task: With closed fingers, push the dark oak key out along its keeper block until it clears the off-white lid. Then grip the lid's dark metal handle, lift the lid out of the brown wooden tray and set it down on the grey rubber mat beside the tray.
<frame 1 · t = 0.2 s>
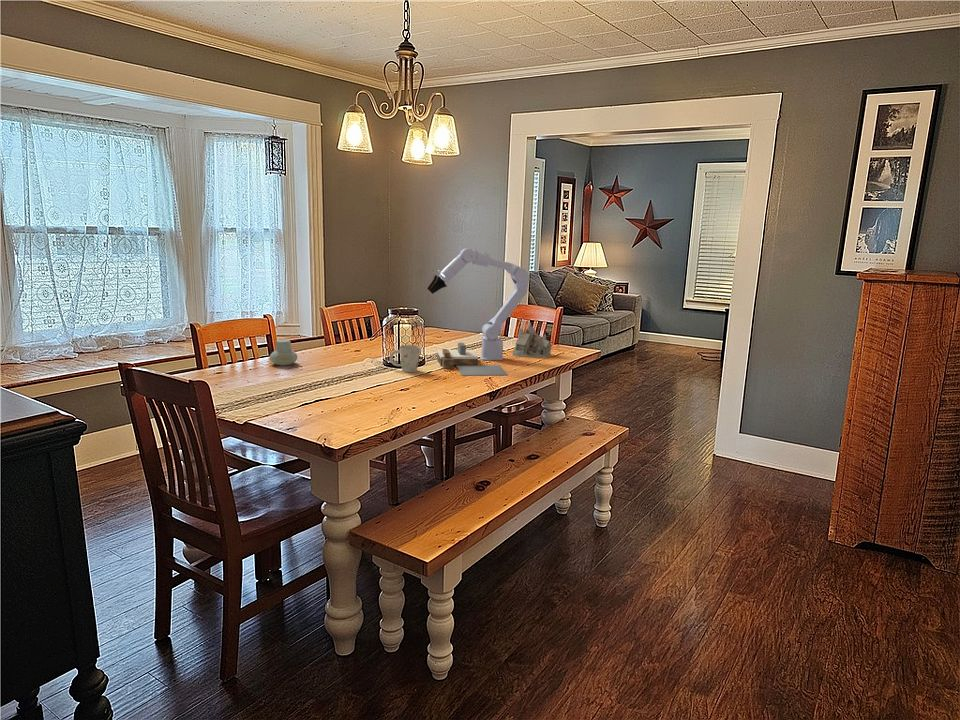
hand: (429, 291, 277), 30 cm above the table, tool tilted 45°, fingers open, 7 cm apart
key: (446, 353, 273), point 5 cm above the table, slide at 0.0 cm
brown wooden tray: (456, 362, 280), on the table
mug: (404, 371, 261), on the table
lid: (457, 355, 279), point 3 cm above the table, touching brown wooden tray
ceramic cottage: (531, 355, 301), on the table
mat: (481, 370, 266), on the table
air freshener: (284, 364, 264), on the table
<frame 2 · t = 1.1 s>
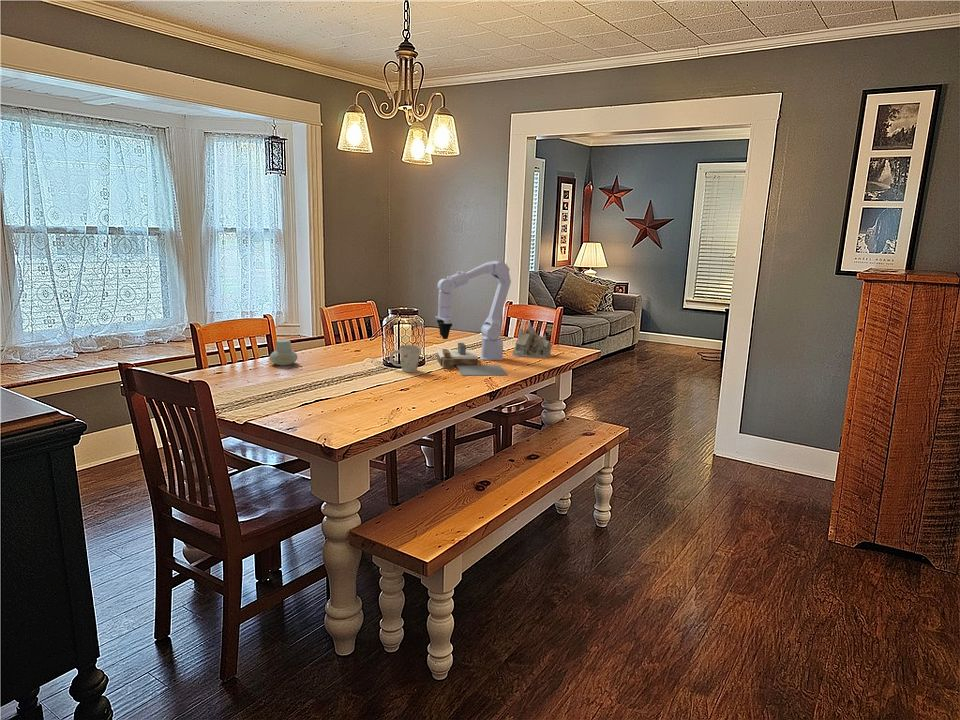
hand: (443, 337, 280), 10 cm above the table, tool pointing down, fingers open, 7 cm apart
nothing on the table moved.
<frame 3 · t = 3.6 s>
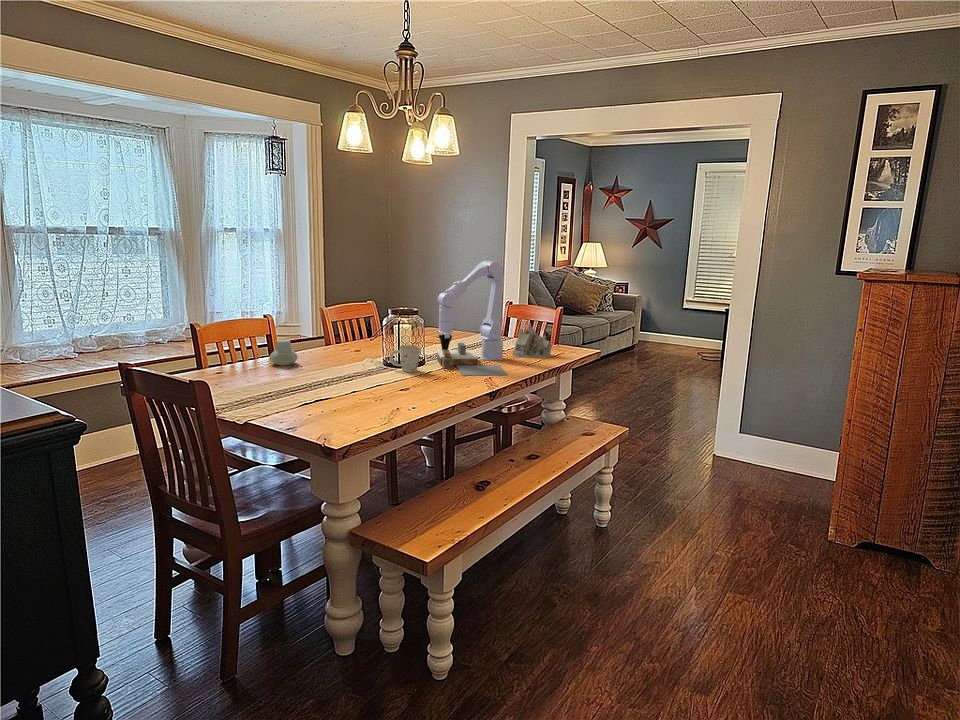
hand: (444, 351, 277), 5 cm above the table, tool pointing down, fingers closed
key: (446, 353, 272), point 5 cm above the table, slide at 0.5 cm, touching gripper
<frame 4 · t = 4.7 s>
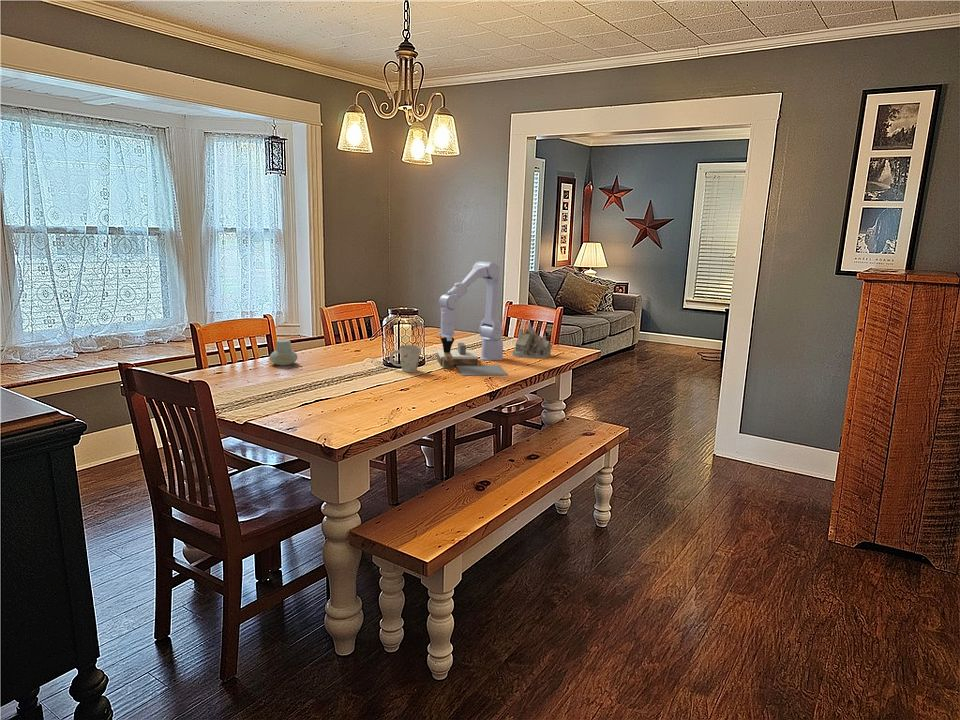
hand: (446, 354, 271), 5 cm above the table, tool pointing down, fingers closed
key: (448, 356, 266), point 5 cm above the table, slide at 6.9 cm, touching gripper
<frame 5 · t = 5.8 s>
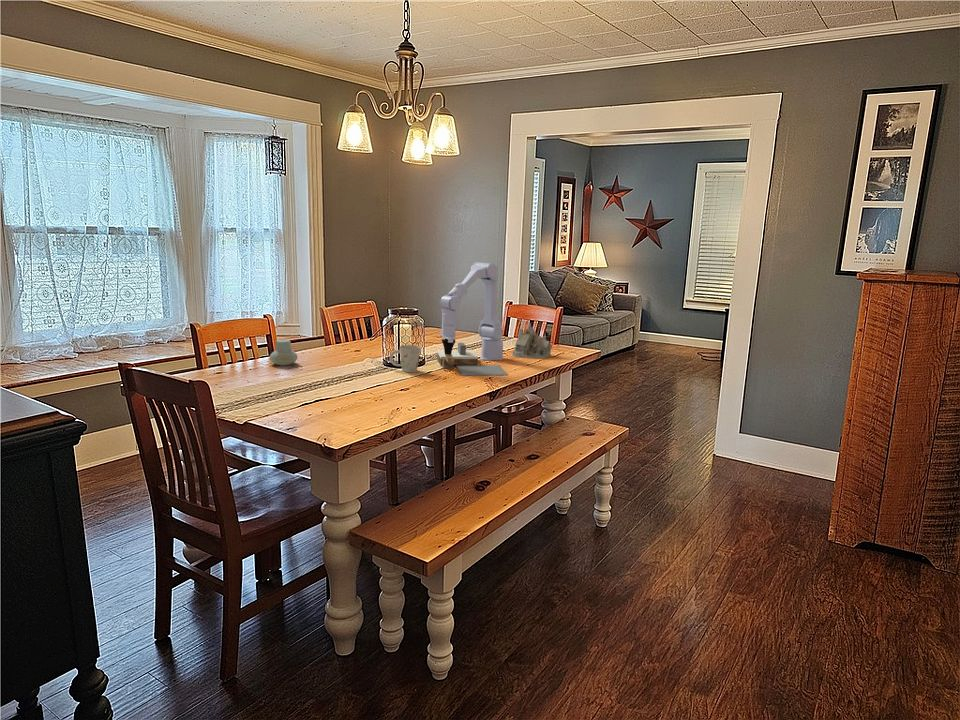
hand: (447, 356, 268), 5 cm above the table, tool pointing down, fingers closed
key: (449, 358, 263), point 5 cm above the table, slide at 10.1 cm, touching gripper
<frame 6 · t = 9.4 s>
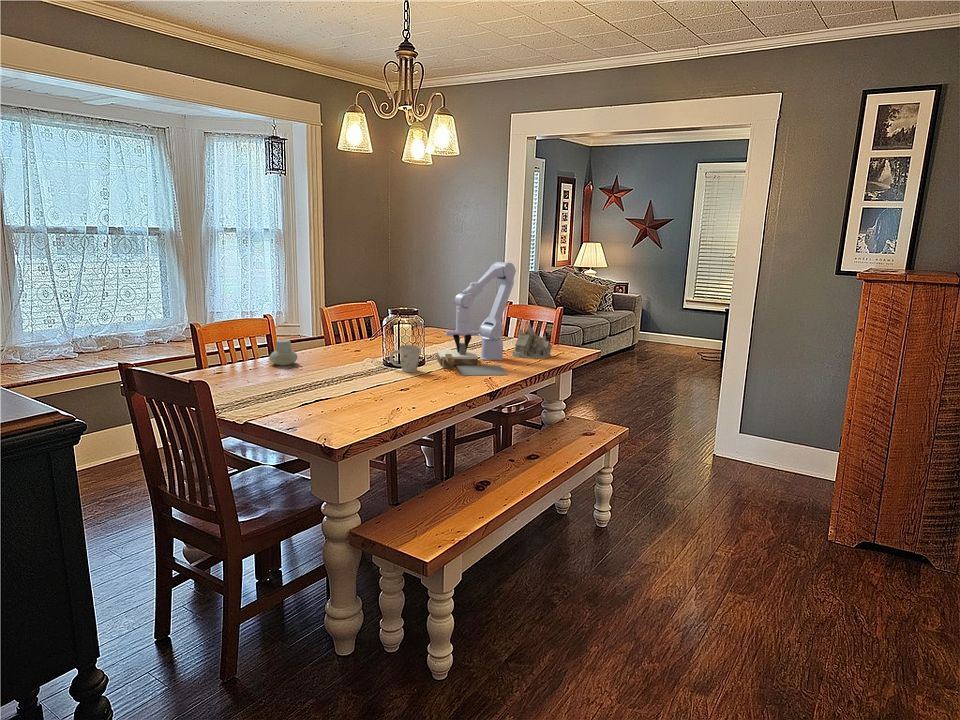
hand: (461, 351, 279), 5 cm above the table, tool pointing down, fingers closed on lid, 2 cm apart
key: (449, 358, 263), point 5 cm above the table, slide at 10.1 cm
lid: (457, 355, 279), point 3 cm above the table, touching gripper, brown wooden tray
when the fingers open (4 cm above the table, at t = 13.0 s): lid stays where it is, resting on mat.
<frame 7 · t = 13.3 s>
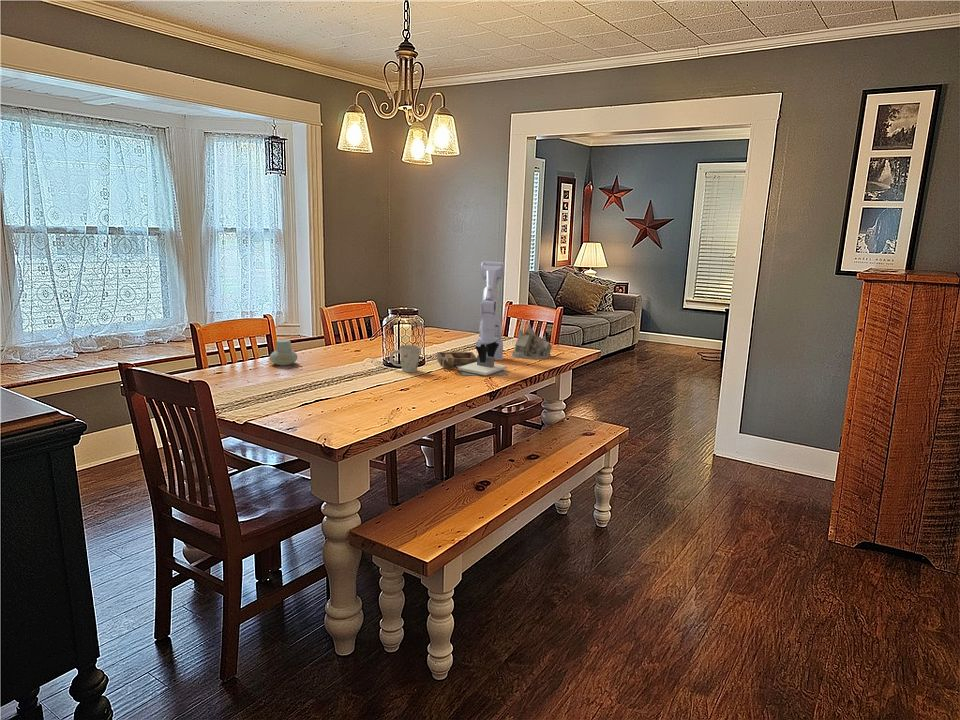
hand: (486, 361, 266), 4 cm above the table, tool pointing down, fingers open, 5 cm apart
lid: (482, 369, 265), point 1 cm above the table, touching mat
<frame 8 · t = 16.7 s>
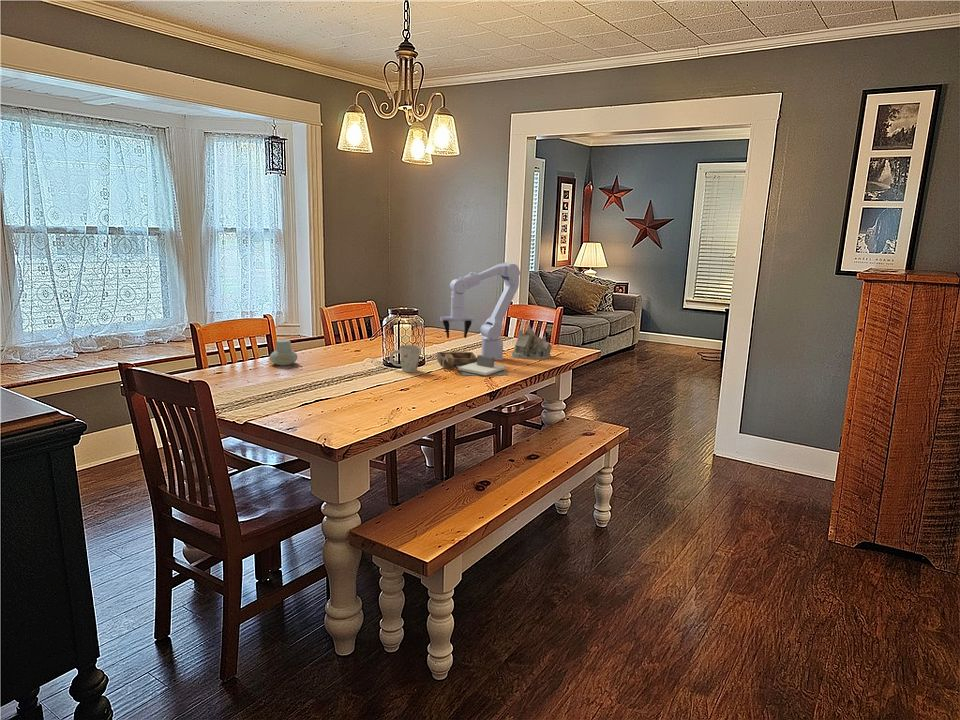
hand: (456, 337, 281), 10 cm above the table, tool pointing down, fingers open, 7 cm apart
at the end: key slide at 10.1 cm; lid inside the target area (1.0 cm from its centre), point 0.9 cm above the table; lid tilted 0° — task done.
